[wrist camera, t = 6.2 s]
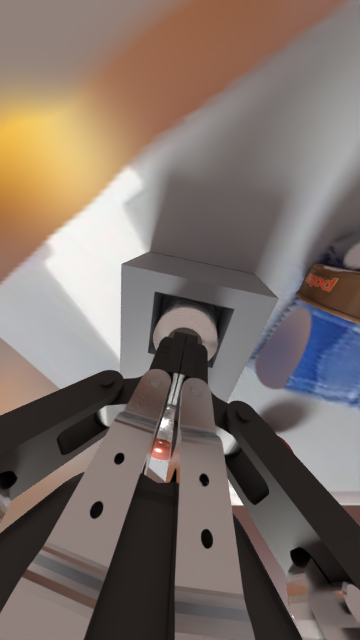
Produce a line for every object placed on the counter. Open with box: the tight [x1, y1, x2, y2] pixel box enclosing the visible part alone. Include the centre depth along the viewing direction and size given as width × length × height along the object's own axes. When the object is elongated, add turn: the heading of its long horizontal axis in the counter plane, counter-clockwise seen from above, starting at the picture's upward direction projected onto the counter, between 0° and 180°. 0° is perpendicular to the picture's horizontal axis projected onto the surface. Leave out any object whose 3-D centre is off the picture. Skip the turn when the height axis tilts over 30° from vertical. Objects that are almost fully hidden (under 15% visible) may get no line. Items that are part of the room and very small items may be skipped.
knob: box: [153, 296, 218, 360], centre depth 13 cm, size 4×4×4 cm
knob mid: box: [151, 386, 176, 462], centre depth 15 cm, size 4×4×4 cm
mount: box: [120, 252, 279, 402], centre depth 19 cm, size 10×24×6 cm, turn 170°
